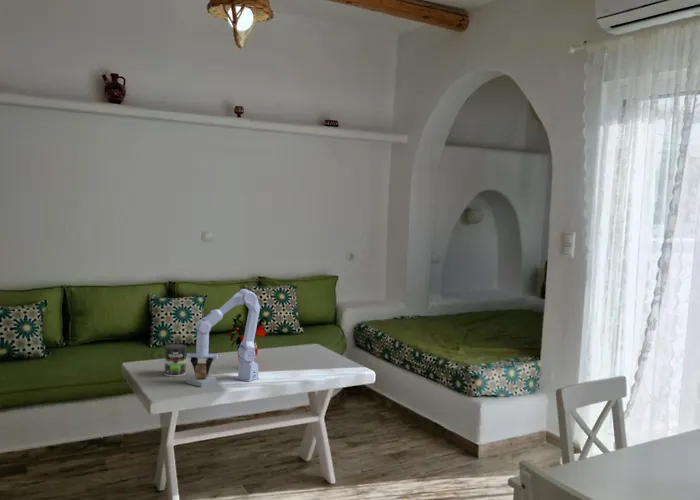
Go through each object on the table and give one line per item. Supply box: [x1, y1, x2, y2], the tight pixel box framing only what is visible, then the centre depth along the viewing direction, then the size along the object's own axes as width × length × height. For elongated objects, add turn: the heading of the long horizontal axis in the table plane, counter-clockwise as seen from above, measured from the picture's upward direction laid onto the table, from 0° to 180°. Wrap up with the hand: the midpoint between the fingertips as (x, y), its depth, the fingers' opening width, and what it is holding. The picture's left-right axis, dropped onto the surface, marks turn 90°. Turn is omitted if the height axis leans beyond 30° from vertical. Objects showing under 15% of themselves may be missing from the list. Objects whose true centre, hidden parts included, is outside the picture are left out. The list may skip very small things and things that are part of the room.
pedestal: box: [185, 375, 218, 388], centre depth 291 cm, size 10×10×2 cm
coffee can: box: [164, 343, 188, 378], centre depth 302 cm, size 10×10×14 cm
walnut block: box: [194, 362, 209, 379], centre depth 291 cm, size 5×5×6 cm
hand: (201, 373), depth 291 cm, fingers closed on walnut block, 5 cm apart
